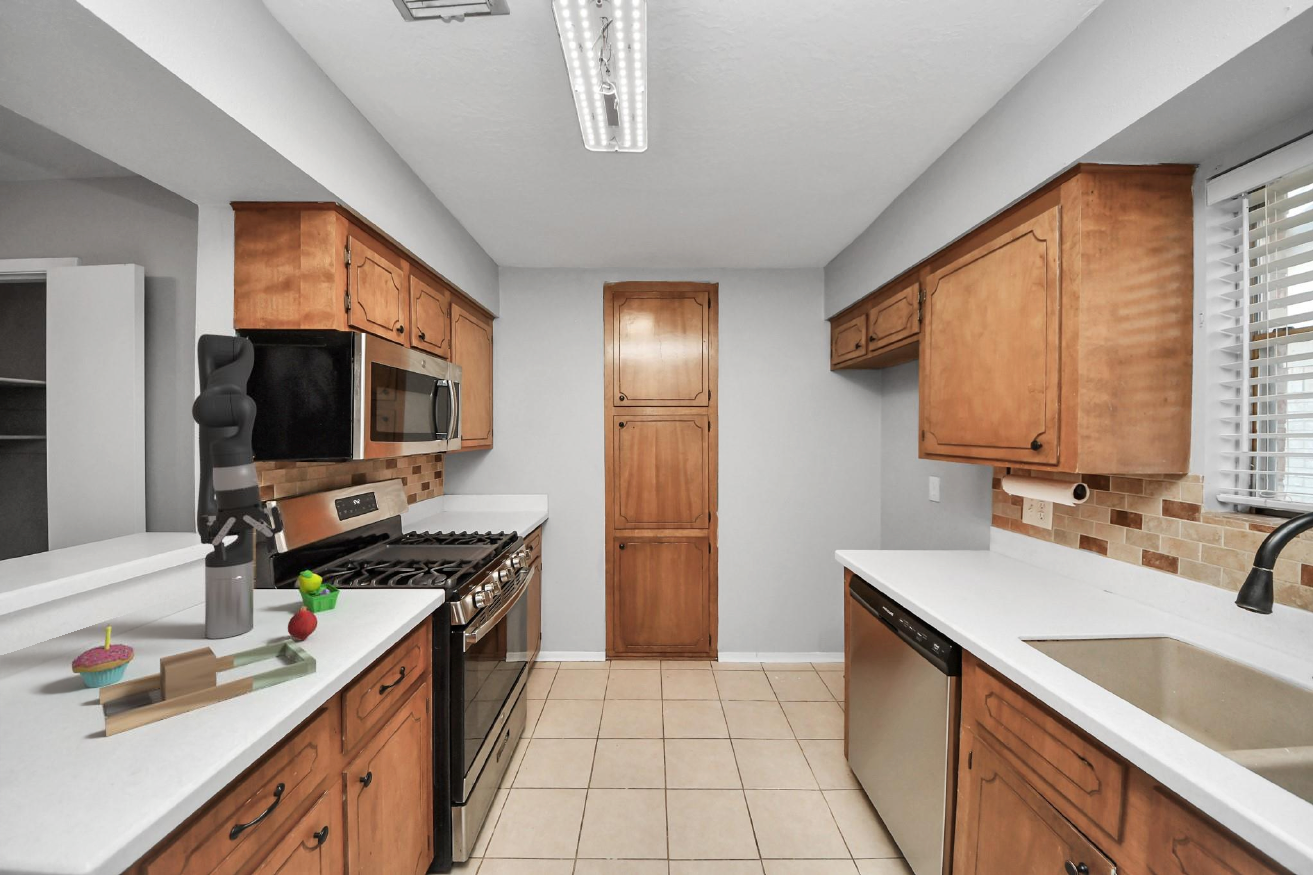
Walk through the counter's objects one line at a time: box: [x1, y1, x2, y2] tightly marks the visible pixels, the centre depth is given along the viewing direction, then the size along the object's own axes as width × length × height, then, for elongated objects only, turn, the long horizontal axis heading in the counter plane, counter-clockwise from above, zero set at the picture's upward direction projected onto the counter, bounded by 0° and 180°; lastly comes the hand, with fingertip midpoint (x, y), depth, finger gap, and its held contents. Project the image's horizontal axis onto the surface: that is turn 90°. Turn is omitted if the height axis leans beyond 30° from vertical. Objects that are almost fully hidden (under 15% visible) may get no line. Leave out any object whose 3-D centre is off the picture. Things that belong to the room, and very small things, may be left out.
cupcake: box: [71, 622, 135, 688], centre depth 101 cm, size 9×8×12 cm
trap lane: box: [99, 638, 317, 737], centre depth 99 cm, size 17×30×2 cm, turn 140°
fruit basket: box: [297, 569, 341, 614], centre depth 144 cm, size 11×9×11 cm
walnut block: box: [159, 646, 217, 702], centre depth 96 cm, size 7×7×7 cm
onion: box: [287, 605, 318, 641], centre depth 121 cm, size 6×6×8 cm
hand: (247, 555), depth 114 cm, fingers open, 8 cm apart
